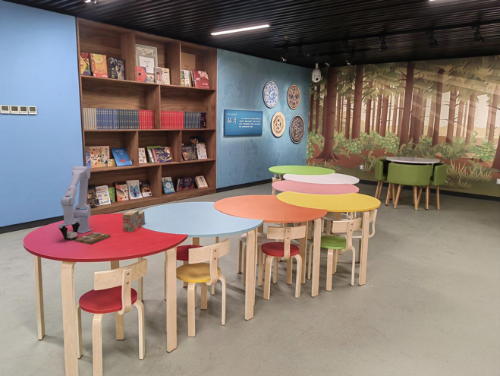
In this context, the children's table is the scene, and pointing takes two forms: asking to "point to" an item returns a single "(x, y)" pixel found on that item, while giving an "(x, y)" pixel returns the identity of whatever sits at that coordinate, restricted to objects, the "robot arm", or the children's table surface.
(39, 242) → the children's table surface
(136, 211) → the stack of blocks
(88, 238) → the dock
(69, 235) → the beige box with tabs
